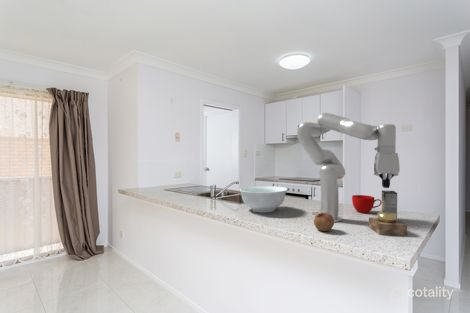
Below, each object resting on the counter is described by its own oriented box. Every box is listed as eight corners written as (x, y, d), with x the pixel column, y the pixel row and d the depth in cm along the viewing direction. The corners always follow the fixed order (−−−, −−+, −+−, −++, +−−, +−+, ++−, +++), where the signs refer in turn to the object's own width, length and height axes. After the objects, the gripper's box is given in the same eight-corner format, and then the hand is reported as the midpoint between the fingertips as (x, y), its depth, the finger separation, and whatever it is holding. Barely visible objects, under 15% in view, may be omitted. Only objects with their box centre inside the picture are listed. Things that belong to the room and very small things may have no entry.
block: (379, 234, 117) (379, 223, 117) (368, 227, 129) (368, 217, 129) (407, 235, 116) (407, 224, 116) (393, 228, 128) (393, 218, 128)
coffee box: (381, 217, 150) (381, 190, 150) (393, 218, 148) (393, 190, 148) (384, 220, 142) (384, 192, 142) (397, 221, 140) (397, 192, 140)
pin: (381, 232, 119) (381, 215, 119) (374, 227, 127) (375, 211, 127) (399, 233, 118) (399, 215, 118) (391, 228, 126) (391, 212, 126)
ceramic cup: (383, 215, 153) (383, 199, 153) (352, 213, 160) (352, 197, 160) (380, 211, 165) (380, 196, 165) (351, 209, 172) (351, 194, 172)
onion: (321, 238, 121) (315, 221, 118) (313, 227, 130) (308, 211, 127) (339, 231, 121) (335, 214, 118) (330, 221, 130) (326, 205, 127)
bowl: (229, 209, 171) (229, 188, 171) (262, 203, 192) (262, 184, 192) (264, 218, 147) (264, 193, 147) (297, 210, 168) (297, 188, 168)
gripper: (373, 149, 120) (372, 188, 120) (407, 149, 118) (406, 189, 119) (367, 150, 128) (366, 186, 128) (398, 150, 126) (398, 187, 126)
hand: (385, 187), depth 123 cm, fingers closed
